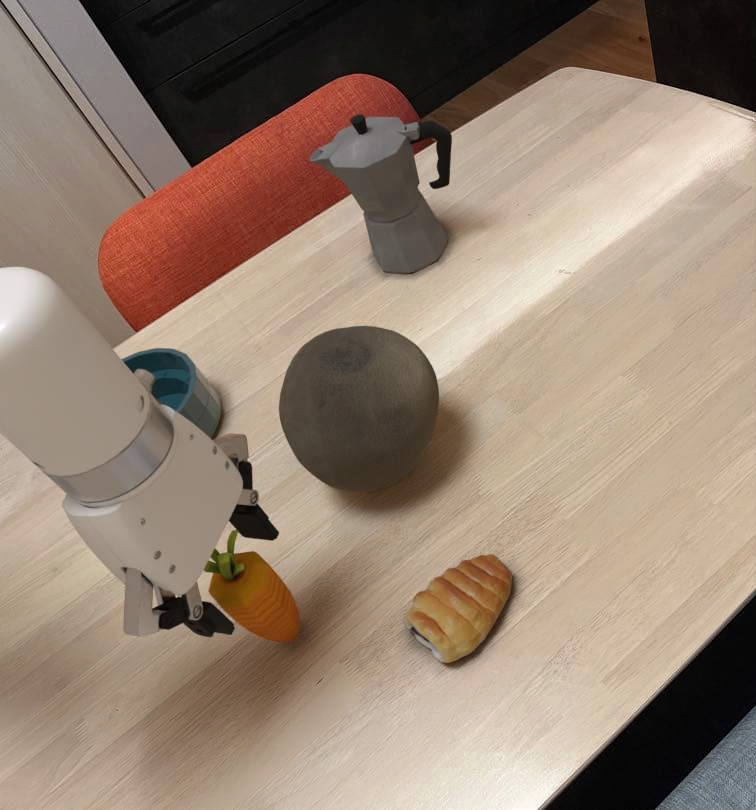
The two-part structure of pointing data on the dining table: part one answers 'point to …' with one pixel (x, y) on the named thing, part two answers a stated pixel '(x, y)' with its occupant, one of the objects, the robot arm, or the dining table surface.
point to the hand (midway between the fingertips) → (239, 579)
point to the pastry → (460, 607)
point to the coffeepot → (391, 186)
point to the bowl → (179, 386)
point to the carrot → (253, 594)
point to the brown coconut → (359, 407)
